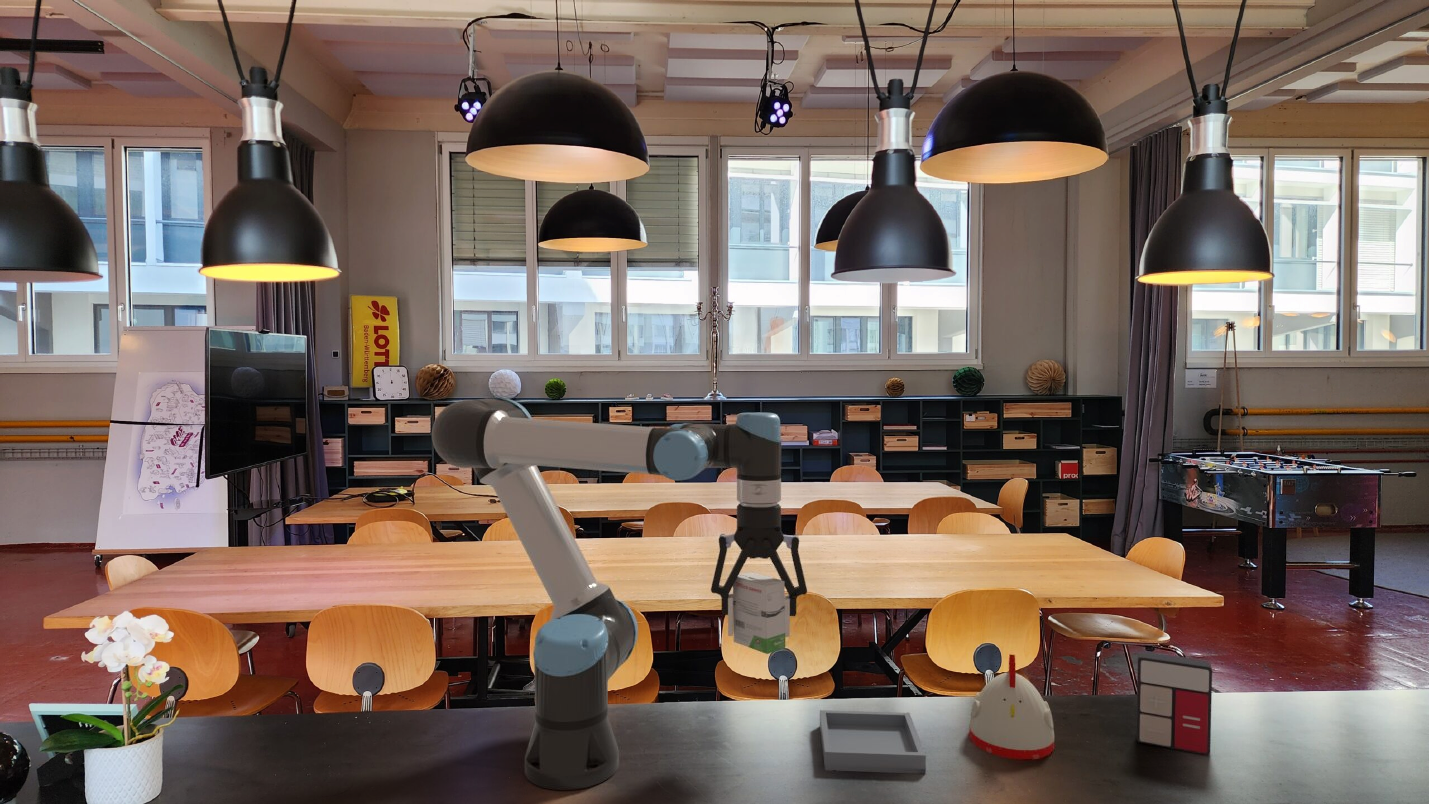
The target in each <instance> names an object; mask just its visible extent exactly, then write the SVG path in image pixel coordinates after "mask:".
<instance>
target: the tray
mask: <svg viewBox="0 0 1429 804" xmlns="http://www.w3.org/2000/svg"><path fill="white" fill-rule="evenodd" d="M819 730H820V732H821V733H820V739H821V748H822V749H823V750H822V757H823V758H822V759H823V764H824V765H823V766H825V767H824V770H825V771H833V770H836V771H837V772H839V771H840V772H846V771H847V772H862V773H863V772H868V773H891V774H892V773H894V774H895V773H896V774H916V775H917V774H918V775H925V774H927V773H926V772H927V771H926V770H927V769H926V766H927V765H926V761H927V759H926V757H927V755H926V753H925V750H924V747H923V744H922V742H921V739H920V736H919V734H918V732H917V729H916V726H915V723H914V721H913V717H912V716H911V713H910V712H896V711H893V712H890V711H888V712H887V711H862V710H861V711H858V710H857V711H855V710H824V709H823V710H821V709H820V710H819Z"/></svg>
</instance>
